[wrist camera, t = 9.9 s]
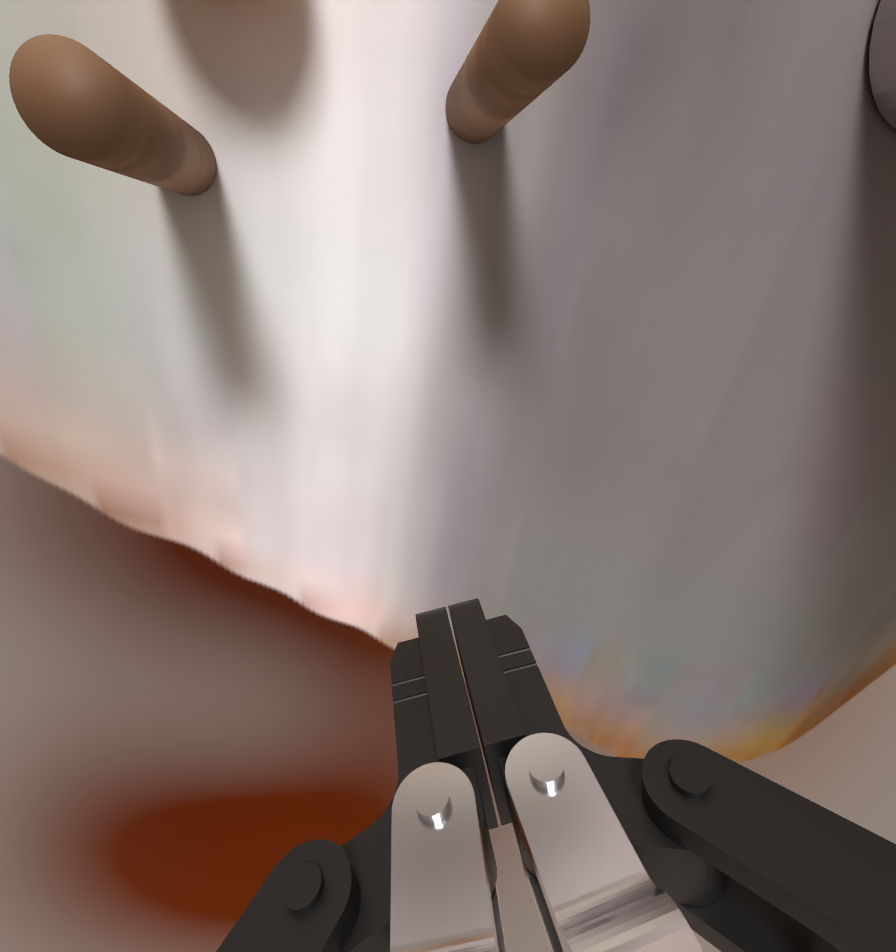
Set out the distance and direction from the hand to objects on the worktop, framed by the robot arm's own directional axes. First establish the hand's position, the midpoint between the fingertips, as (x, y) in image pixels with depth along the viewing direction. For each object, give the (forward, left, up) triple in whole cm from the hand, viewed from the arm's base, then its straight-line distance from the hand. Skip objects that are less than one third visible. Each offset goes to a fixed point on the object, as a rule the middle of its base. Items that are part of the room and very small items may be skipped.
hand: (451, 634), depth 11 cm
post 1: (-13, -6, -17) cm, 22 cm away
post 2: (-13, +6, -17) cm, 22 cm away
